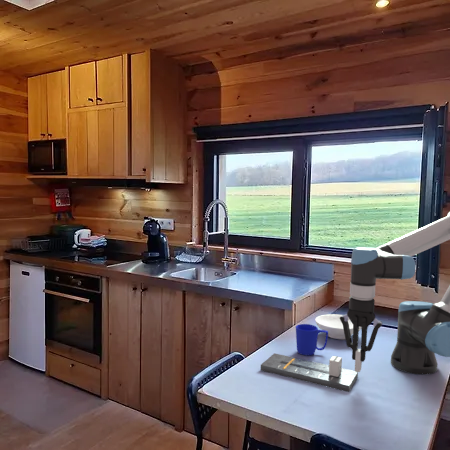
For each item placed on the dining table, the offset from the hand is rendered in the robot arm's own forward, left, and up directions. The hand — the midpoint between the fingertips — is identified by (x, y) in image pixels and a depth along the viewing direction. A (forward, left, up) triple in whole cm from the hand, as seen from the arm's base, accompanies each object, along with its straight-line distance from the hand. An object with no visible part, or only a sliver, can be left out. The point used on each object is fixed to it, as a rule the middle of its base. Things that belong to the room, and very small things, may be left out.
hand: (357, 370), depth 135 cm
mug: (+21, -18, -5) cm, 28 cm away
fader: (+7, 0, -3) cm, 8 cm away
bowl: (+17, -42, -5) cm, 46 cm away
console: (+16, 0, -5) cm, 17 cm away
